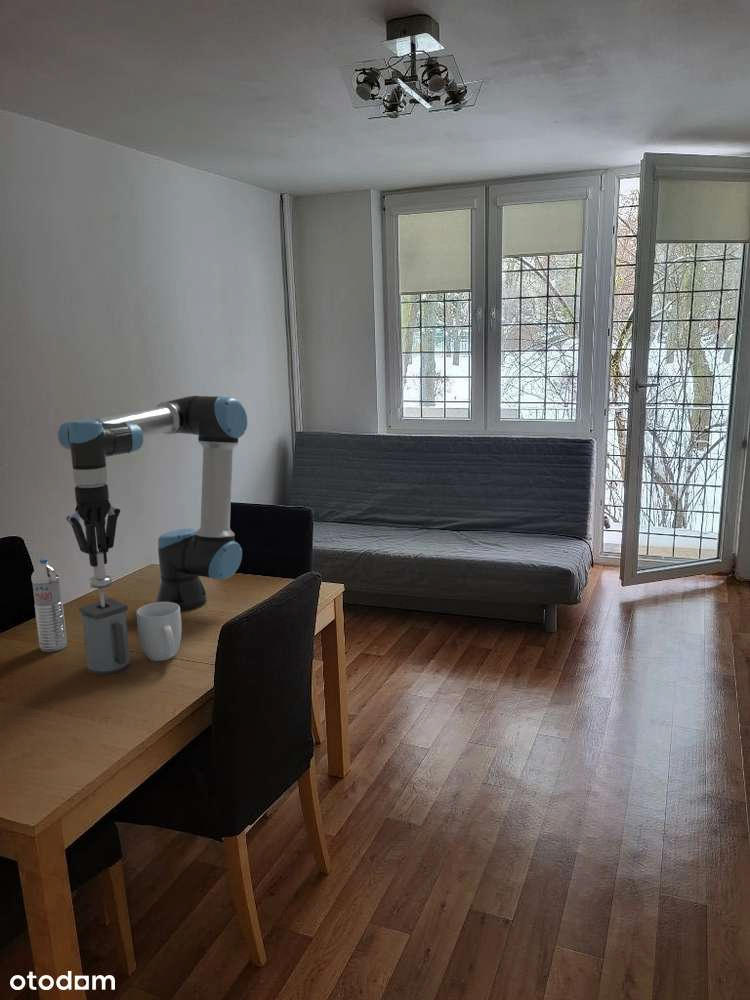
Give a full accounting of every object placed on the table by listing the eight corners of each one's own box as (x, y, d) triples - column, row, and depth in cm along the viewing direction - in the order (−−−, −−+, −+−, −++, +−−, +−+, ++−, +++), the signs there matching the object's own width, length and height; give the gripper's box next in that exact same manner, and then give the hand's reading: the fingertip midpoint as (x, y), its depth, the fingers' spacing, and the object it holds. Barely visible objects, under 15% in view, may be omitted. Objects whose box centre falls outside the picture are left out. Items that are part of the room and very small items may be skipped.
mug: (194, 663, 188) (191, 615, 185) (152, 674, 182) (147, 625, 179) (175, 643, 200) (172, 598, 197) (134, 653, 194) (130, 607, 192)
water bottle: (72, 644, 200) (63, 557, 195) (52, 654, 194) (42, 564, 188) (54, 640, 203) (44, 554, 197) (34, 650, 197) (23, 561, 191)
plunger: (111, 631, 190) (105, 573, 186) (123, 638, 186) (117, 578, 182) (89, 639, 185) (83, 579, 182) (101, 645, 181) (95, 584, 178)
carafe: (116, 654, 194) (111, 596, 190) (142, 667, 186) (136, 607, 182) (80, 667, 187) (74, 607, 183) (105, 681, 179) (99, 619, 175)
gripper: (108, 478, 184) (116, 568, 189) (57, 486, 174) (67, 581, 179) (124, 482, 179) (131, 574, 184) (72, 491, 169) (82, 587, 175)
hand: (100, 577), depth 182 cm, fingers closed
